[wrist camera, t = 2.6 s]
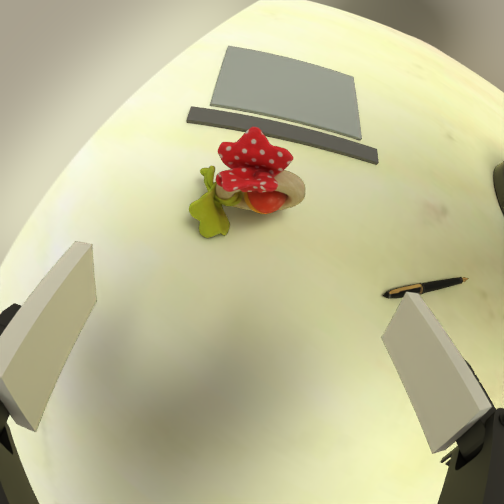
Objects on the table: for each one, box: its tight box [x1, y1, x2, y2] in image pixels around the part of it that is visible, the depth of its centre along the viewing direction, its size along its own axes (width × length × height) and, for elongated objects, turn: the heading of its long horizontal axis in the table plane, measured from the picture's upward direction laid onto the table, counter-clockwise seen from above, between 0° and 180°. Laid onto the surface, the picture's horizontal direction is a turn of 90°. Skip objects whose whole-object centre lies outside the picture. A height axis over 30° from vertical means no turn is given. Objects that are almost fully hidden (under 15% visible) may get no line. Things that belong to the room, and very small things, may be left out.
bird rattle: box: [189, 127, 305, 238], centre depth 24 cm, size 6×11×9 cm
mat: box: [187, 46, 379, 165], centre depth 34 cm, size 22×15×1 cm
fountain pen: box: [383, 277, 469, 298], centre depth 30 cm, size 14×1×2 cm, turn 97°
